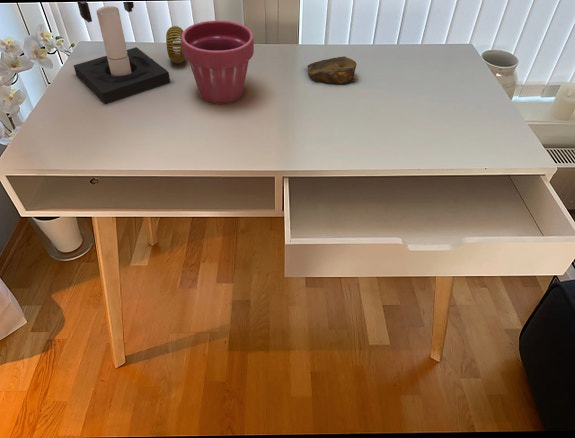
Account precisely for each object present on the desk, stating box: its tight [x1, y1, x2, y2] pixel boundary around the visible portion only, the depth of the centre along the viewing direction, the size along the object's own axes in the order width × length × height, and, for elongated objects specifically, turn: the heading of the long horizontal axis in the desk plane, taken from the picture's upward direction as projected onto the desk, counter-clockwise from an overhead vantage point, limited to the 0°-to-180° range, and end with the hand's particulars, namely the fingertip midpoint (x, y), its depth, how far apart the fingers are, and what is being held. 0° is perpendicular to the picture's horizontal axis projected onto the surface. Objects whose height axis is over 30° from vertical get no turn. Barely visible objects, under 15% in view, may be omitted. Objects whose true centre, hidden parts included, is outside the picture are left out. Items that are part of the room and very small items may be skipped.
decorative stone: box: [306, 55, 357, 85], centre depth 114 cm, size 10×9×4 cm
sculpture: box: [165, 25, 186, 64], centre depth 116 cm, size 8×4×8 cm, turn 6°
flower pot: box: [181, 20, 255, 104], centre depth 104 cm, size 14×14×13 cm
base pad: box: [73, 46, 171, 105], centre depth 111 cm, size 15×15×2 cm
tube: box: [95, 5, 132, 76], centre depth 107 cm, size 4×4×15 cm
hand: (108, 15), depth 103 cm, fingers open, 8 cm apart
